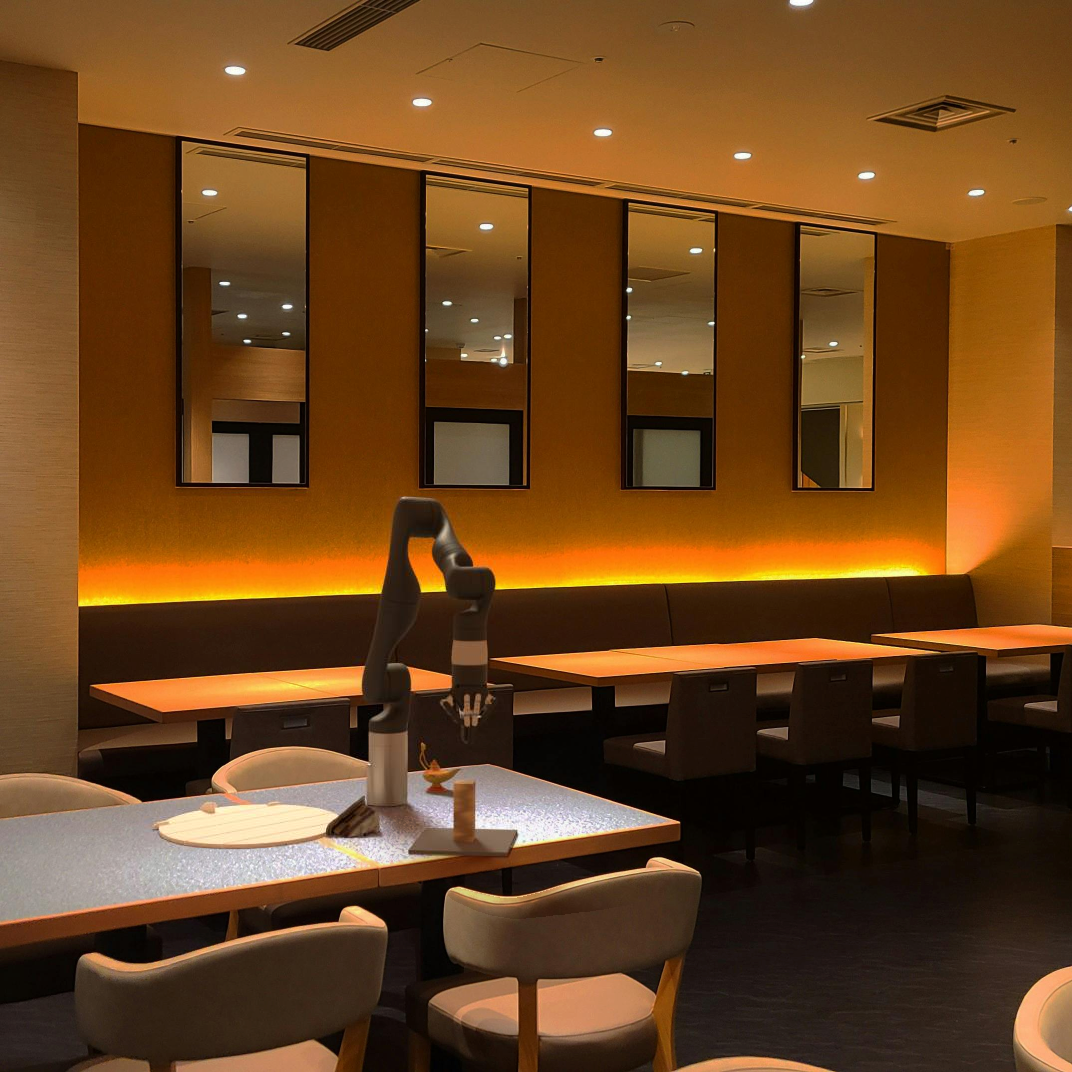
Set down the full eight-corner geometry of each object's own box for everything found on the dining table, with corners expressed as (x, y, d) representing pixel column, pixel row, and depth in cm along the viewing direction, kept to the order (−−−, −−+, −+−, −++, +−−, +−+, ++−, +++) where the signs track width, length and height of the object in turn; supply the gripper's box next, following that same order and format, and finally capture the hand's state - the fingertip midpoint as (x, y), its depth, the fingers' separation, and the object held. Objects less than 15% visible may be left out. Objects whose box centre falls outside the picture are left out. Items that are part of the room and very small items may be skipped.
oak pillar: (453, 841, 271) (453, 783, 271) (456, 837, 275) (456, 779, 275) (472, 842, 270) (472, 784, 270) (475, 837, 274) (475, 780, 274)
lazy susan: (122, 827, 288) (122, 812, 287) (272, 801, 316) (272, 787, 316) (223, 860, 260) (223, 842, 260) (377, 828, 288) (377, 812, 288)
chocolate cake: (346, 844, 274) (381, 799, 280) (322, 830, 278) (358, 786, 283) (361, 865, 281) (396, 821, 286) (338, 851, 285) (373, 808, 290)
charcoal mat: (408, 853, 263) (408, 849, 263) (425, 831, 283) (425, 827, 283) (507, 856, 262) (507, 852, 262) (517, 833, 282) (517, 829, 282)
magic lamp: (450, 798, 318) (450, 753, 318) (408, 787, 332) (408, 743, 332) (472, 794, 323) (473, 750, 323) (430, 783, 337) (430, 741, 337)
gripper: (445, 664, 269) (445, 748, 270) (505, 662, 275) (504, 744, 275) (434, 660, 276) (433, 742, 277) (492, 658, 282) (491, 738, 282)
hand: (468, 743), depth 276 cm, fingers closed
